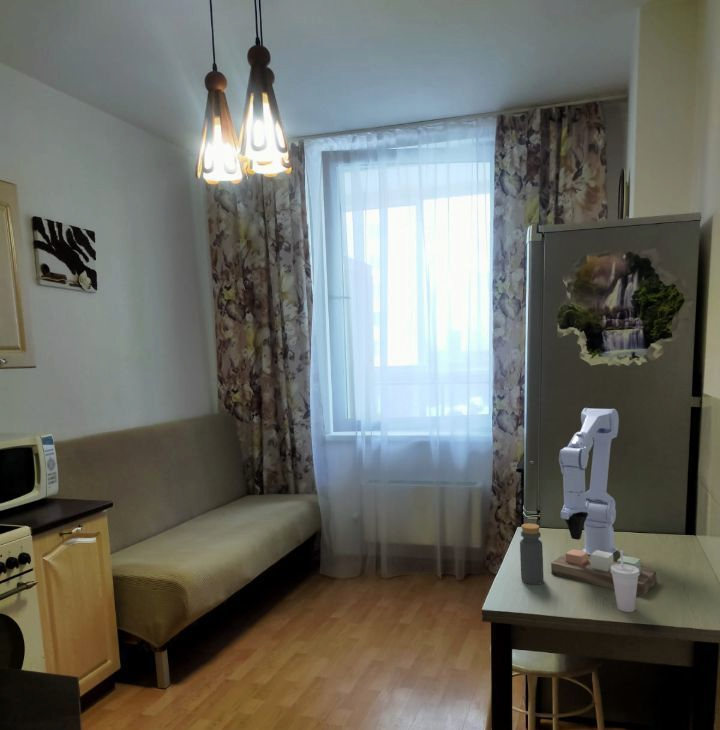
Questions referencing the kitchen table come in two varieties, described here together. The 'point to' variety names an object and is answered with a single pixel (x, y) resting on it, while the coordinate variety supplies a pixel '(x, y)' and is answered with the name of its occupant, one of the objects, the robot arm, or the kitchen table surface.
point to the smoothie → (625, 585)
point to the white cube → (602, 560)
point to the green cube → (631, 562)
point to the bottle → (531, 554)
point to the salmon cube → (577, 557)
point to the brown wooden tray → (600, 574)
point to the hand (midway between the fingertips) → (576, 538)
